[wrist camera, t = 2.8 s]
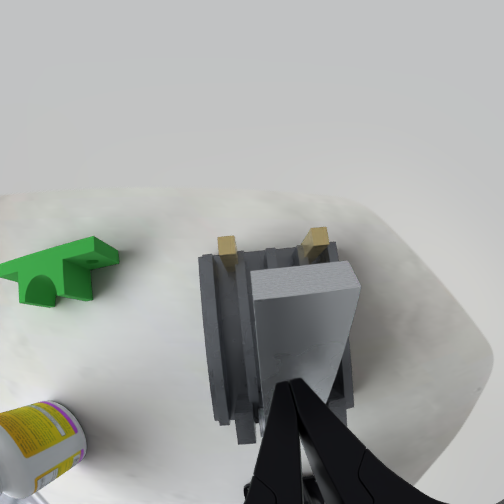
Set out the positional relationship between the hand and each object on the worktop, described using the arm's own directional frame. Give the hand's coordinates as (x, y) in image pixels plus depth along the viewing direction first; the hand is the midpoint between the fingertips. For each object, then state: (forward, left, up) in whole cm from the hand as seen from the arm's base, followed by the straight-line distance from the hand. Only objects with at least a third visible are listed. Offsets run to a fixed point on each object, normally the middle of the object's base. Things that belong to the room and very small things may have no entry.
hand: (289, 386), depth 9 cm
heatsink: (+1, -1, -13) cm, 13 cm away
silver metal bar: (0, -1, -4) cm, 4 cm away
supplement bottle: (-8, +20, -13) cm, 25 cm away
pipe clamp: (+7, +17, -13) cm, 22 cm away
